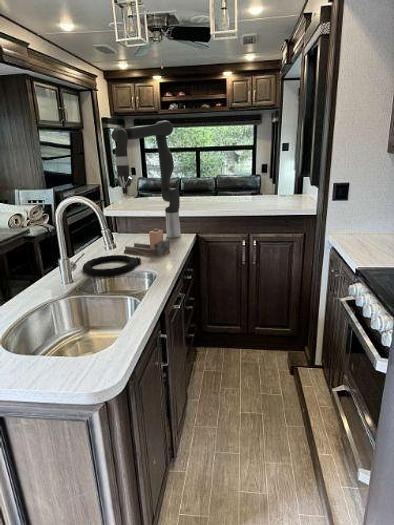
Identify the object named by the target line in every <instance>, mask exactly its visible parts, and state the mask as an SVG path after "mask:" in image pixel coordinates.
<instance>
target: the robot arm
mask: <svg viewBox="0 0 394 525" xmlns="http://www.w3.org/2000/svg"><path fill="white" fill-rule="evenodd" d="M173 130H174V127H173V123H171V122H170V121H169V120H159V121H156V123H155V124H151V125H149V124H147V125H138V126H131V127H126V128H115V129H114V130H113V131H112V132H111V139H112V140H113V141H114V142H116V146H115V148H114V154H115V167H116V168H115V170H116V174H117V176H116V177H115V178H114V181H115V182H116V184H117V186H118V187H119V188H120V187H121V189H122V190H121V191H122V194H123V195H128V192H129V191H128V188H129V187H131V185H132V183H133V180H134V178H133V177H131V175H130V165H129V163H130V161H129V157H128V143H129V142H128V141H129V140H140V139H145V138H149V137H153V136H155V139H156V140H155V141H156V146H157V154H158V162H159V163H158V164H159V169H160V170H159V171H160V181H161V182H160V183H161V188H160V189H161V190H160V191H161V198H162V200H163V201H164V202H168V203H169V204H168V206H167V207H165V208H164V211H165V228H166V237H167V238H169V239H175V238H176V239H177V238H180V237H181V222H180V206H181V205H180V200H181V199H180V198H181V197H180V196H181V195H180V192H179V190H178V189H177V188H175V187H173V188H172V187H171V178H172V175H173V172H174V168H175V166H174V165H175V164H174V156H173V154H172V152H171V150H170V147H169V146H168V141H167V137H169V136H170V135H171V134H172V133H173Z"/></svg>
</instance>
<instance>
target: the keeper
mask: <svg viewBox="0 0 394 525" xmlns="http://www.w3.org/2000/svg"><path fill="white" fill-rule="evenodd" d="M148 232H149V233H148V236H149V245H150V249H152V250H155V246H154V244H156V243H159V242H161V241H164V240H165V239H164V231H163V229H159V228H153V230H151V231H148Z"/></svg>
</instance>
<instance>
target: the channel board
mask: <svg viewBox="0 0 394 525" xmlns="http://www.w3.org/2000/svg"><path fill="white" fill-rule="evenodd" d="M163 240H164V241H161V242H159V243H156V244H154V246H155V250H152V249H150V243H149V244H148V243H140V242H135V243H134V242H133V246H129V245H127V246H124V250H123V254H131V255H136V256H144V257H153V258H160V257H162V256H164V255H167V254H169V253H171V246H170V245H171V244H170V239H163Z"/></svg>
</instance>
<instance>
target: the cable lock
mask: <svg viewBox="0 0 394 525" xmlns="http://www.w3.org/2000/svg"><path fill="white" fill-rule="evenodd" d="M104 262H105V263H109V262H123V263H127V264H124V265H121V266H118V267H112V268H94V266H96V265H99V264H105V263H104ZM141 264H142V259H141V257H140V256H139V257H138V256H137V257H134V256H129V255H124V254H113V255H105V256H99V257H96V258H95V257H94V258H92V259H90V260H87V261H86V262H85V263H84V264H83V265H82V270H83V273H85V274H87V275H90V276H95V277H107V276H108V277H110V276H115V275H121V274H123V273H124V274H125V273H128V272H130V271H131V270H133V269H134V268H135V267H137V266H138V265H141ZM92 267H93V268H92Z"/></svg>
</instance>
